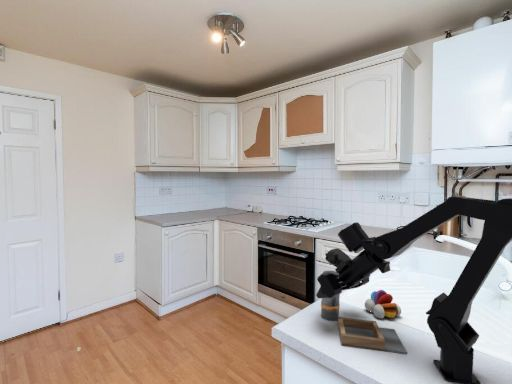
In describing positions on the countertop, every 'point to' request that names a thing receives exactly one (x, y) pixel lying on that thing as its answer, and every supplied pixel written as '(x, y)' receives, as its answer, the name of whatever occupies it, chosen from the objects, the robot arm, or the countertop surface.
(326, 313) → the grey metal cylinder
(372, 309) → the multicolored petal flower
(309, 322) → the countertop surface
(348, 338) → the picture frame
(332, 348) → the countertop surface
